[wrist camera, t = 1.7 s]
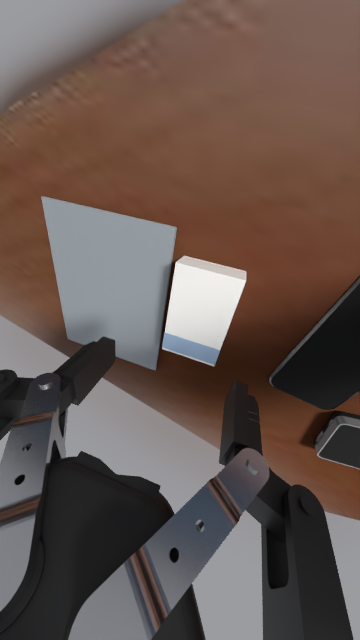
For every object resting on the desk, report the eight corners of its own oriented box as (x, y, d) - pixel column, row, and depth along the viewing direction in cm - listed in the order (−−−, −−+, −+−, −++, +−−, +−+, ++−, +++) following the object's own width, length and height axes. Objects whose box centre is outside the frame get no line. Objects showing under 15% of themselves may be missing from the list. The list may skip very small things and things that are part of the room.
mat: (177, 227, 17) (175, 227, 17) (156, 368, 27) (155, 370, 26) (44, 196, 19) (41, 196, 19) (69, 337, 29) (67, 339, 29)
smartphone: (489, 302, 13) (329, 414, 21) (478, 298, 14) (327, 408, 22) (379, 258, 14) (264, 383, 22) (373, 256, 14) (264, 379, 23)
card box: (184, 255, 18) (175, 262, 16) (246, 271, 17) (246, 280, 15) (170, 334, 23) (161, 348, 21) (217, 350, 22) (214, 366, 20)
